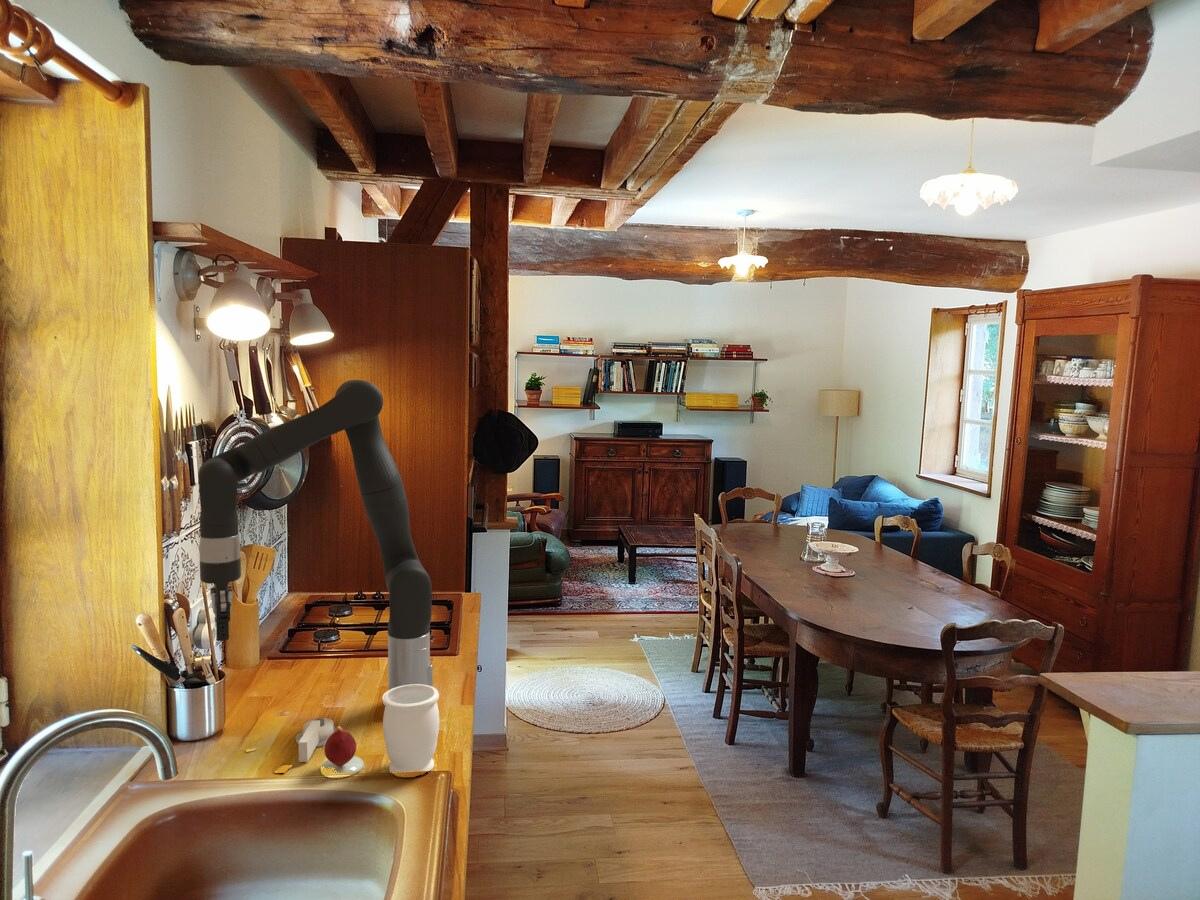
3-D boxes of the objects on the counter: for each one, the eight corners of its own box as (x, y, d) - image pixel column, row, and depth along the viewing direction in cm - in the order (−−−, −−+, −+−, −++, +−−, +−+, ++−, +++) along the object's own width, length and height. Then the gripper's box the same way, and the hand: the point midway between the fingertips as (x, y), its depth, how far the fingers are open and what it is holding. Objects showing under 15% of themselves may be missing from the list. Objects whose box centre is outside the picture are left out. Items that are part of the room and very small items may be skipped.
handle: (307, 729, 170) (307, 711, 169) (336, 728, 170) (336, 710, 170) (287, 762, 156) (286, 742, 155) (319, 761, 156) (318, 742, 156)
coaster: (358, 754, 160) (358, 752, 160) (367, 772, 153) (367, 770, 153) (317, 763, 156) (317, 761, 156) (324, 782, 149) (324, 780, 149)
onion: (359, 758, 157) (359, 719, 157) (351, 773, 152) (351, 733, 151) (330, 758, 157) (329, 719, 156) (320, 773, 152) (319, 733, 151)
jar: (395, 788, 148) (394, 710, 146) (375, 764, 156) (374, 691, 154) (448, 771, 154) (448, 697, 152) (426, 749, 162) (425, 679, 161)
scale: (336, 724, 173) (336, 722, 173) (352, 759, 158) (352, 757, 158) (243, 742, 164) (243, 740, 164) (251, 781, 149) (251, 779, 149)
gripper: (243, 562, 158) (245, 647, 160) (237, 548, 170) (239, 627, 171) (201, 566, 154) (203, 653, 156) (198, 551, 166) (200, 632, 168)
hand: (222, 639), depth 164 cm, fingers closed
